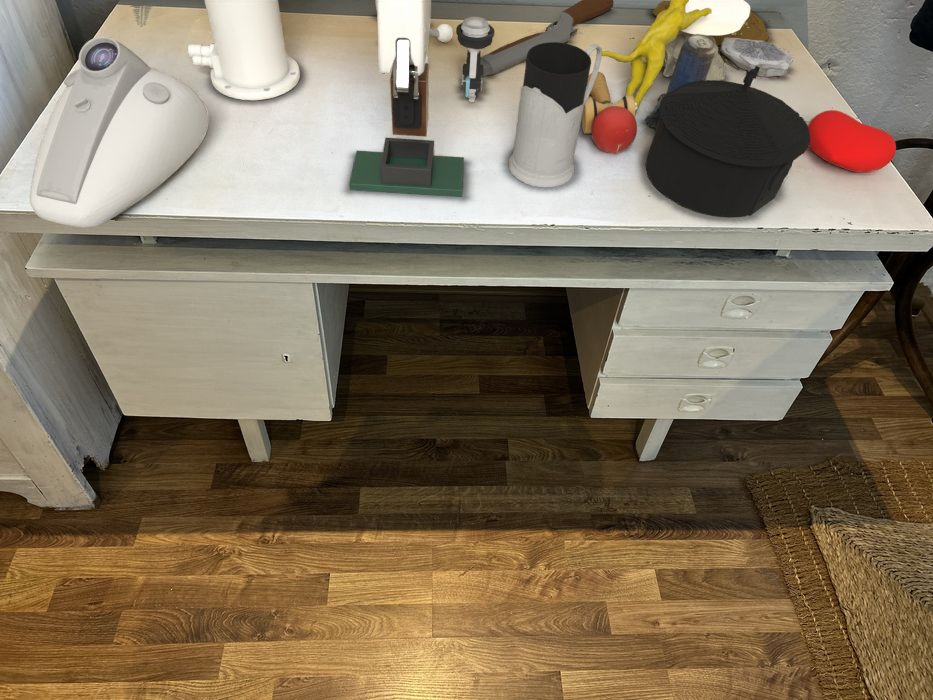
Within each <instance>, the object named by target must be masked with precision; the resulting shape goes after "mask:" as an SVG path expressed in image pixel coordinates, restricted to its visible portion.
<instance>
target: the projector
mask: <svg viewBox="0 0 933 700" xmlns="http://www.w3.org/2000/svg"><path fill="white" fill-rule="evenodd" d="M78 62H79V65H80V68H79V69H75V70H74V71H72V72H70V73H69V74H68V75H67V77H66V78H65V79H64V80H63V84H64V85H65V86H66V87H64V90H63V91H62V92H61V94H60V96H59V98H58V99H57V101H56V103H55V105H54V107H53V110H52V112H51V114H50V116H49V118H48V121H47V124H46V126H45V129H44V132H43V135H42V138H41V141H40V144H39V148H38V151H37V152H38V153H37V156H36V159H35V164H34V168H33V172H32V176H31V177H32V178H31V184H30V189H29V204H30V206H31V209H32V210H33V212H34V214H35V215H36V216H37V217H39V218H40V219H42V220H45V221H48V222H51V223H56V224H58V225H59V224H60V225H63V226H64V225H65V226H70V227H77V228H82V229H90V228H91V229H92V228H96V227H99V226H101V225H103V224H105V223H107V222H108V221H111V220H112V219H114V218H116V217H117V216H119V215H121V214H122V213H124V212H125V211H127V210H128V209H129V208H131V207H133V206H135V204H137V203H139V202H140V201H141V200H143V199H144V198H145V197H147V196H148V195H150V193H152V192H153V191H155V190H156V189H157V188H158V187H160V186H161V185H162V184H163V183H164V182H166V181H167V180H168V179H169V178H170V177H171V176H172V175H173V174H174V173H175V172H177V170H178V169H180V168H181V167H182V166H183V164H185V162H187V160H188V159H190V157H191V156H192V155H193V154H194V153H195V152H196V151H197V149H198V148H199V147H200V145H201V143H202V142H203V141H204V139H205V137H206V135H207V132H208V128H209V113H208V109H207V106H206V104H205V102H204V100H203V99H202V98H201V96H200V95H199V93H197V91H196V90H194V89H193V87H191V86H190V85H189V84H187V83H186V82H184V81H183V80H181V79H179V78H177V77H175V76H174V75H172V74H169V73H167V72H166V71H162V70H159V69H157V68H155V67H151V66H149V65H148V63H146V62H145V60H143V59H142V58H141V57H140V56H139V55H137V54H136V53H135V52H134V51H132V49H130V48H128V47H127V46H126V45H125V44H123V43H121V42H119V41H118V40H116V39H115V38H113V37H110V36H104V35H102V36H101V35H100V36H96V37H94V38H92V39H90V40H88V41H87V42H85V43H84V45H83V46H82V47H81V49H80V51H79V54H78Z"/></svg>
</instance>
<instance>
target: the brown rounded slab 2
mask: <svg viewBox="0 0 933 700" xmlns="http://www.w3.org/2000/svg"><path fill="white" fill-rule="evenodd" d="M669 6H670V1H664V0H662V1H660V2H659V3H658V4H657V6H655V8H654V10H653V11H652V15H653V16H654V17H655V18H656V17H657V16H658V14H659V13H660V12H662V11H664V10H667V9H668V8H669ZM712 37H713V38H714V40H715V43H716V45H717V46H718V48H720V47H721V45H722V44H721V43H722V41H723V39H724V38H725V37H728V38H740V39H749V40H757V41H760V40H761V41H765V42H768V41H769V39H770V36H769V34H768V29H767V27H766V26H765V21H764V20H763V19H761V18H760V17H759V16H758V15H757V14H755V12H753V11H751V10H750V14H749V17H748V18H747V20H746V21H745V22H744V24H743V25H742V27H741V29H740V30H738V31H736V32H734V33H730V34H726V35H712Z"/></svg>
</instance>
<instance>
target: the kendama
mask: <svg viewBox="0 0 933 700" xmlns="http://www.w3.org/2000/svg"><path fill="white" fill-rule="evenodd" d="M591 75H592V72H591V73H589V77H588V81H587V86H588V83H589V81H590V78H591ZM587 86H586V88H587ZM590 95H591V96H589V97H588V99H587V101H586V103H585V104H584V109H583V114H582V118H581V127H582V132H583V133H584V134H591V137H592V140H593V143H594V144H595V146H596V147H597V148H598V149H600V150H601V151H603V152H605V153H609V154H618V153H621V152H624V151H625V150H627V149H628V148H629V147H630V146H631V145H632V144H633V142H634V141H635V139H636V136H637V132H638V124H637V119H636V110H635V102H634V99H635V97H634V96H633V95H626V94H625V95H624V96H623V97H621V98H620V99H619V100H618V101H616V102H614V103H613V102H612V99H611V94H610V91H609V88H608V83H607V80H606V76H605V74H604V73H603V72H601V71H598V74H597V77H596V80H595V83H594V85H593V88H592V90H591V92H590Z"/></svg>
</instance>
